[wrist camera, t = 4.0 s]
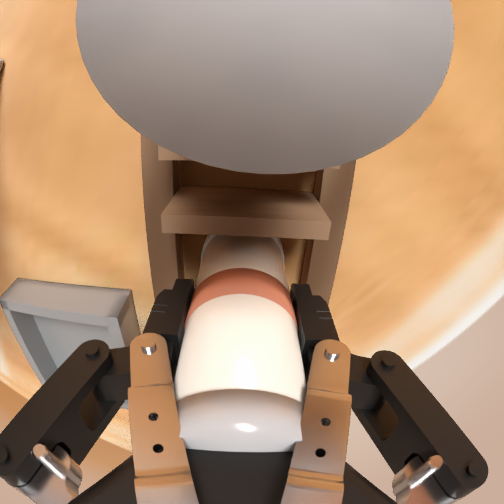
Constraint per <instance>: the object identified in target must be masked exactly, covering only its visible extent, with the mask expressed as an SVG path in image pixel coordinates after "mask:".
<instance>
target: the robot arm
mask: <svg viewBox="0 0 504 504" xmlns="http://www.w3.org/2000/svg"><path fill="white" fill-rule="evenodd" d="M193 293H194V281H193V279H176V280H175V283H174V286H173V289H172V290H171V289H164V290H163V291H162V292H161V293H159V294H158V295H157V297H156V300H155V302H154V305H153V307H152V311H151V313H150V315H149V318H148V321H147V323H146V326H145V329H144V331H143V334H141V335H139V336H137V337H135V338H134V339H133V340H132V342H131V344H130V346H127V347H122V348H114V349H109V346H108V345H107V343H105V342H104V341H102V340H97V339H93V340H88V341H86V342H84V343H82V344H81V345H80V346H79V347H78V348H77V349H76V350H75V351H74V352H73V353H72V354H71V355H70V356H69V357H68V358H67V359H66V360H65V362H64V363H63V364H62V365H61V366H60V367H59V368H58V369H57V370H56V371H55V372H54V373H53V374H52V375H51V377H50V378H49V379H48V380H47V381H46V382H45V383H44V384H43V385H42V386H41V388H40V389H39V390H38V391H37V392H36V393H35V394H34V395H33V397H32V398H31V399H30V400H29V401H28V402H27V403H26V404H25V406H24V407H23V408H22V409H21V410H20V411H19V412H18V414H17V415H16V416H15V417H14V419H12V421H11V422H10V423H9V424H8V425H7V427H6V428H5V429H4V430H3V431H2V433H1V434H0V477H1V478H3V479H4V480H5V481H6V482H7V483H8V484H9V485H11V486H12V487H14V488H15V489H16V490H18V491H20V492H21V493H23V494H24V495H25V496H28V497H29V498H30V499H31V500H32V501H33V502H35V503H36V504H453V503H455V502H456V501H458V500H460V499H461V498H463V497H465V496H466V495H468V494H469V493H471V492H472V491H474V490H475V489H477V488H478V487H480V486H481V485H482V484H483V483H484V482H485V481H486V479H487V476H488V466H487V463H486V461H485V459H484V458H483V457H482V456H481V454H480V453H479V452H478V450H477V449H476V448H475V447H474V445H473V444H472V443H471V441H470V440H469V439H468V438H467V436H466V435H465V434H464V433H463V431H462V430H461V429H460V428H459V426H458V425H457V424H456V423H455V421H454V420H453V419H452V418H451V417H450V415H449V414H448V413H447V412H446V410H445V409H444V408H443V407H442V406H441V404H440V403H439V402H438V401H437V400H436V398H435V397H434V396H433V395H432V394H431V393H430V391H429V390H428V389H427V388H426V386H425V385H424V384H423V383H422V382H421V381H420V380H419V378H418V377H417V376H416V375H415V374H414V372H413V371H412V370H411V369H410V368H409V366H408V365H407V364H406V363H405V362H404V361H403V360H402V358H401V357H400V356H399V355H397V354H396V353H394V352H391V351H386V350H383V351H378V352H376V353H375V354H374V355H373V356H372V358H366V357H361V356H357V355H354V354H351V353H350V350H349V348H348V347H347V346H346V345H345V344H343V343H342V342H340V341H339V337H338V334H337V331H336V328H335V325H334V322H333V319H332V316H331V313H330V310H329V307H328V304H327V302H326V301H325V300H324V299H323V298H322V297H321V296H320V295H312V292H311V289H310V286H309V284H292V285H291V290H290V296H291V298H292V302H293V306H294V311H295V316H296V322H297V327H298V339H299V345H300V350H301V356H302V361H303V367H304V372H305V378H306V384H307V385H306V393H305V399H304V408H303V413H302V418H301V423H300V425H301V433H302V441H296V443H295V446H294V448H293V451H286V452H229V451H211V450H198V449H187V448H186V447H185V444H184V440H183V438H179V436H180V429H181V427H180V422H179V416H178V411H177V405H176V398H175V392H174V385H173V384H174V379H175V374H176V370H177V365H178V360H179V355H180V351H181V346H182V342H183V337H184V332H185V322H186V318H187V313H188V309H189V305H190V301H191V297H192V295H193ZM125 400H128V405H129V420H130V432H131V442H132V452H133V455H132V456H131V457H129V458H128V459H127V460H125V461H124V462H123V463H122V464H120V465H119V466H118V467H116V468H115V469H114V470H112V472H110V473H109V474H107V475H106V476H104V477H103V478H102V479H101V480H99V481H98V482H96V483H95V484H94V485H92V486H91V487H89V488H88V489H87V490H85V491H84V492H82V493H81V494H80V495H79V494H78V488H79V486H80V484H81V481H82V471H81V468H80V466H79V465H80V464H81V462H82V461H83V460H84V458H85V457H86V455H87V454H88V452H89V451H90V449H91V448H92V447H93V445H94V443H95V442H96V441H97V440H98V438H99V437H100V435H101V434H102V433H103V431H104V430H105V428H106V427H107V426H108V424H109V423H110V421H111V420H112V418H113V417H114V416H115V414H116V413H117V411H118V410H119V409H120V407H121V406H122V404H123V403H124V402H125ZM351 408H352V410H353V412H354V413H355V414H356V416H357V417H358V419H359V421H360V422H361V424H362V425H363V427H364V428H365V430H366V431H367V433H368V434H369V436H370V437H371V439H372V440H373V442H374V443H375V445H376V447H377V448H378V449H379V451H380V452H381V454H382V456H383V457H384V459H385V460H386V462H387V463H388V465H389V466H390V468H391V469H392V471H393V472H394V474H395V476H394V478H393V482H392V485H393V486H392V487H393V493H394V495H395V496H396V502H395V501H394V500H392V499H391V498H390V497H388V496H387V495H386V494H385V493H383V492H382V491H381V490H380V489H378V488H377V487H376V486H374V485H373V484H372V483H371V482H369V481H368V480H367V479H366V478H365V477H363V476H362V475H361V474H360V473H358V472H357V471H356V470H355V469H353V468H352V467H351V466H350V465H349V464H348V463H347V462H345V460H346V452H347V444H348V435H349V426H350V415H351Z"/></svg>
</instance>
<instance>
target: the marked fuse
mask: <svg viewBox="0 0 504 504" xmlns="http://www.w3.org/2000/svg"><path fill="white" fill-rule="evenodd" d="M284 262H285V260H284V253H283V248H282V244H281V240H280V238H275V237H254V236H230V235H207V237H206V239H205V242H204V246H203V249H202V253H201V265H200V269H199V273H198V277H197V281H196V285H195V289H194V293H193V295H192V297H191V301H190V305H189V309H188V313H187V318H186V322H185V332H184V337H183V342H182V346H181V351H180V355H179V360H178V365H177V370H176V374H175V379H174V384H173V385H174V392H175V398H176V405H177V411H178V416H179V422H180V427H181V429H180V436H179V438H183V440H184V444H185V447H186V448H187V449H198V450H211V451H229V452H286V451H293V448H294V446H295V443H296V441H302V433H301V425H300V423H301V418H302V413H303V408H304V399H305V393H306V385H307V384H306V378H305V372H304V367H303V361H302V356H301V350H300V345H299V339H298V327H297V322H296V316H295V311H294V306H293V302H292V298H291V296H290V292H289V287H288V282H287V277H286V272H285V267H284Z"/></svg>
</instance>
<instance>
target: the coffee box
mask: <svg viewBox="0 0 504 504" xmlns="http://www.w3.org/2000/svg"><path fill="white" fill-rule="evenodd" d="M3 63H4V60H3V59H1V58H0V71H1V69H2V66H3Z"/></svg>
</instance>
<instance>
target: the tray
mask: <svg viewBox="0 0 504 504" xmlns="http://www.w3.org/2000/svg"><path fill="white" fill-rule="evenodd" d="M0 304H1V307H2V309H3V311H4V314H5V316H6V318H7V320H8V322H9V325H10V327H11V329H12V331H13V333H14V335H15V337H16V339H17V341H18V343H19V345H20V347H21V349H22V351H23V353H24V354H25V356H26V358H27V360H28V362H29V364H30V365H31V367H32V369H33V371H34V372H35V374H36V376H37V377H38V379H39V381H40V382H41V384H42V385H43V384H44V383H45V382H46V381H47V380H48V379H49V378H50V377H51V375H52V374H53V373H54V372H55V371H56V370H57V369H58V368H59V367H60V366H61V365H62V364H63V363H64V362H65V360H66V359H67V358H68V357H69V356H70V355H71V354H72V353H73V352H74V351H75V350H76V349H77V348H78V347H79V346H80V345H81V344H82V343H84V342H86V341H88V340H93V339H97V340H102V341H104V342H105V343H107V345H108V346H109V349H114V348H122V347H127V346H130V344H131V342H132V340H133V339H134V338H135V337H137V336H139V335H141V334H140V330H139V325H138V321H137V316H136V311H135V307H134V302H133V297H132V291H131V290H129V289H117V288H105V287H94V286H84V285H74V284H64V283H55V282H46V281H38V280H30V279H22V278H17V279H16V280H15V281H14V283H13V284H12V285H11V286H10V287H9V288H8V289H7V290H6V291H5V292H4V294H3V295H2V296H1V297H0ZM120 408H123V409H128V410H129V405H128V400H125V402H124V403H123V404H122V406H121V407H120Z"/></svg>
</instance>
